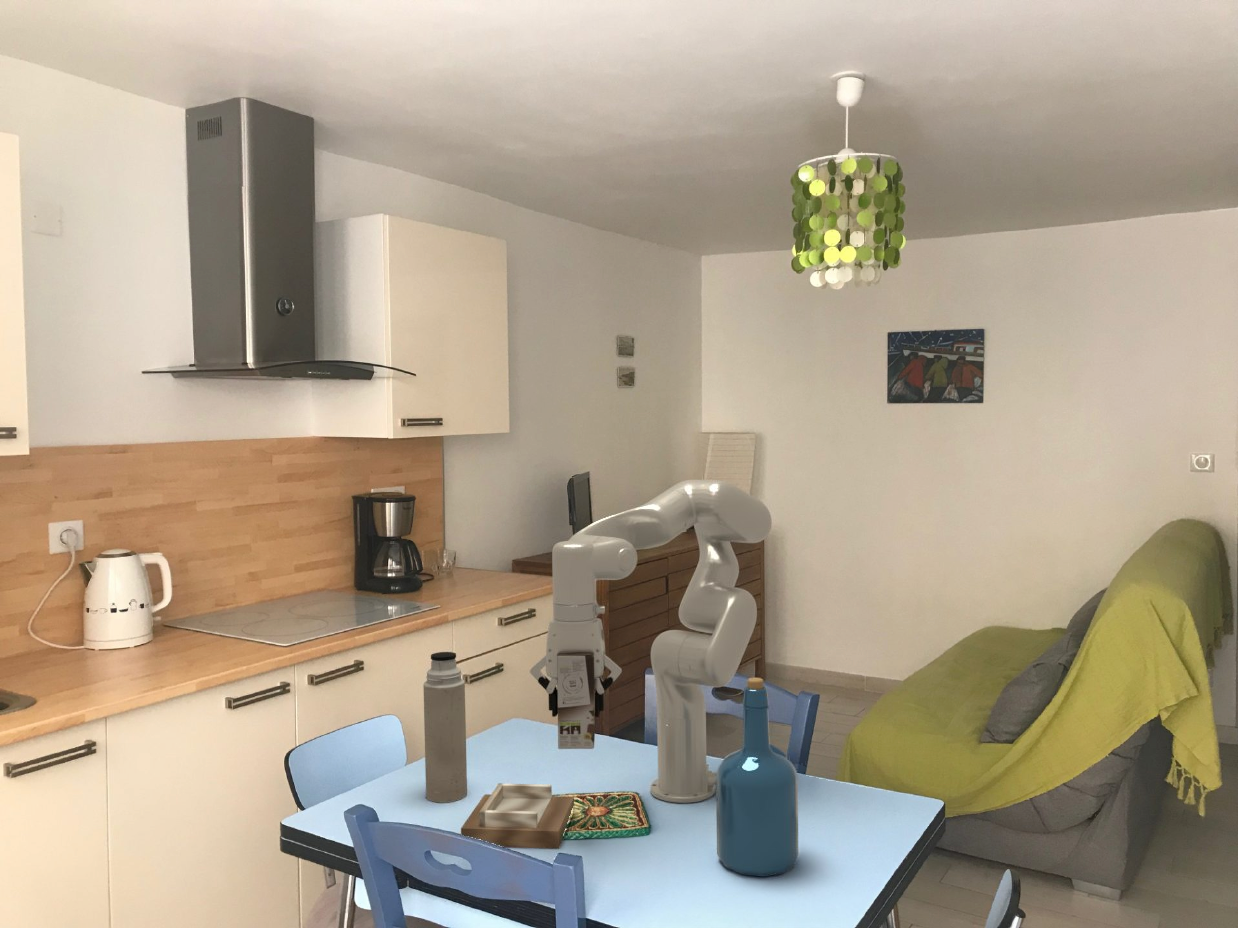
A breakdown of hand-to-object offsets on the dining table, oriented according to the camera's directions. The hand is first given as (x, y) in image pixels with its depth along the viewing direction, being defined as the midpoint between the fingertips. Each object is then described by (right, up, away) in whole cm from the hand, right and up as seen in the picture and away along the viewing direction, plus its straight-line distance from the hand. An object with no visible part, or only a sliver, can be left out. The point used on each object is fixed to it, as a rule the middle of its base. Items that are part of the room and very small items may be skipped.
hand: (576, 713), depth 170 cm
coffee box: (0, -5, 0) cm, 5 cm away
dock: (-10, -22, +5) cm, 25 cm away
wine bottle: (+30, -22, -10) cm, 38 cm away
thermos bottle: (-26, -22, +22) cm, 41 cm away
